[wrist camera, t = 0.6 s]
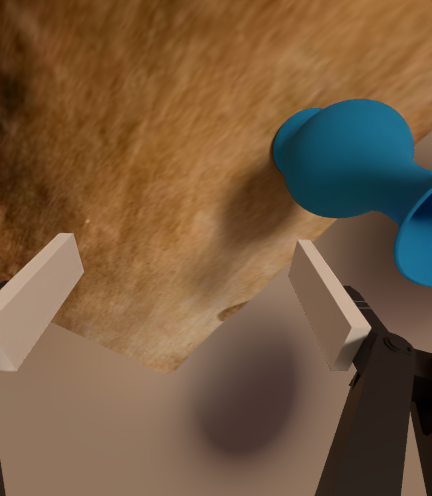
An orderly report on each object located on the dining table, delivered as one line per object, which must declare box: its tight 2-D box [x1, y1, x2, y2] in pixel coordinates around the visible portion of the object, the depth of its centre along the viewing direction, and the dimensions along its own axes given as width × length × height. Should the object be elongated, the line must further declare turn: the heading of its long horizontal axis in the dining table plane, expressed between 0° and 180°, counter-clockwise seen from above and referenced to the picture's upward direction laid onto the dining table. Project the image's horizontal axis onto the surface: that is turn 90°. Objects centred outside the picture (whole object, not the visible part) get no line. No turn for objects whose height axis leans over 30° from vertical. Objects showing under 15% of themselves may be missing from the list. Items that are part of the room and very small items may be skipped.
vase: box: [273, 99, 432, 287], centre depth 26 cm, size 12×13×28 cm
